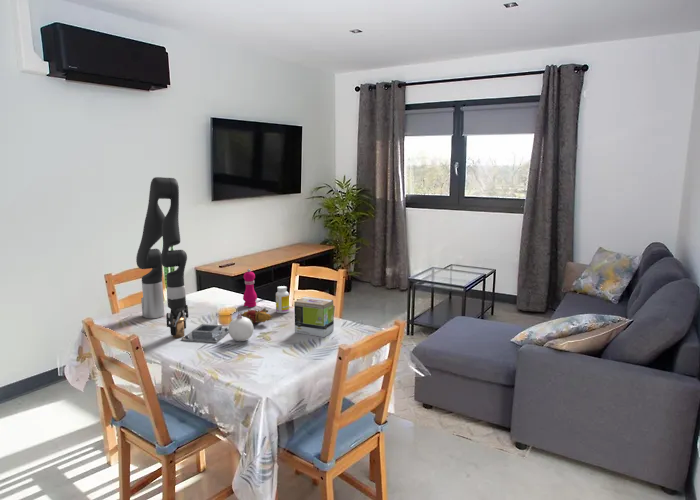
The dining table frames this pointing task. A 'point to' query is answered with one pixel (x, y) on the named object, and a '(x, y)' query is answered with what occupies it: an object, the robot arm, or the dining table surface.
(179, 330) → the round knob
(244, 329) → the ornament
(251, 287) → the pepper mill
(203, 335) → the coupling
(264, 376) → the dining table surface
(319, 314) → the tea box
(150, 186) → the robot arm
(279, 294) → the supplement bottle
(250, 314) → the scarecrow
